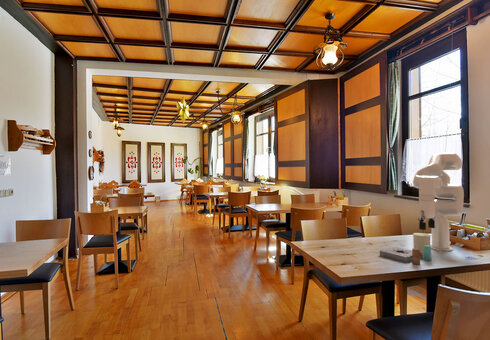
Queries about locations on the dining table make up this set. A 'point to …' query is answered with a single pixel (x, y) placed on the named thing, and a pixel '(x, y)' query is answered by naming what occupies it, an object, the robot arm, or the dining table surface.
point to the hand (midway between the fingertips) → (427, 228)
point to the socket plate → (398, 254)
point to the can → (421, 241)
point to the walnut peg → (416, 256)
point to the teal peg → (427, 253)
